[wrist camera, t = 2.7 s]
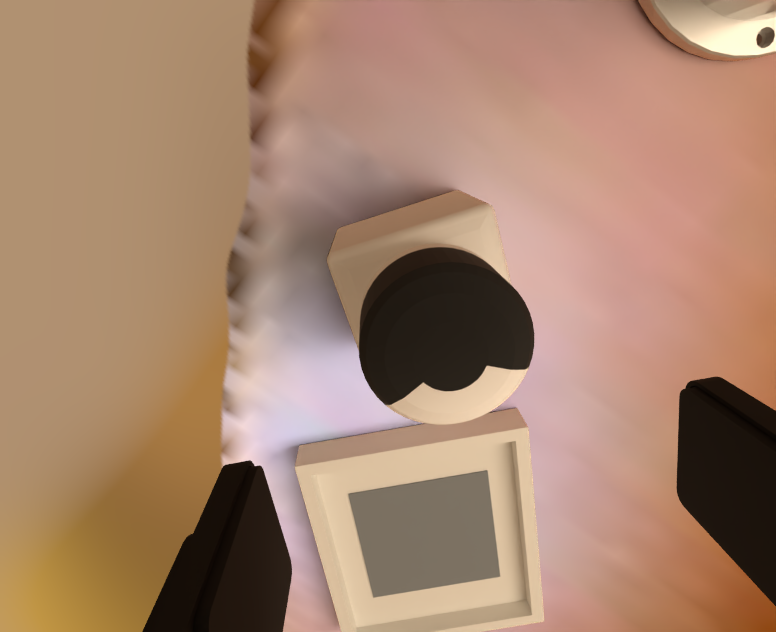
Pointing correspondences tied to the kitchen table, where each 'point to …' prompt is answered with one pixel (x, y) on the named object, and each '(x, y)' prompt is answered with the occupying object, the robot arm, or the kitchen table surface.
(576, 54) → the kitchen table surface
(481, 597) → the tray
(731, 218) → the kitchen table surface
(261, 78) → the kitchen table surface
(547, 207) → the kitchen table surface
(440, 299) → the medicine bottle
